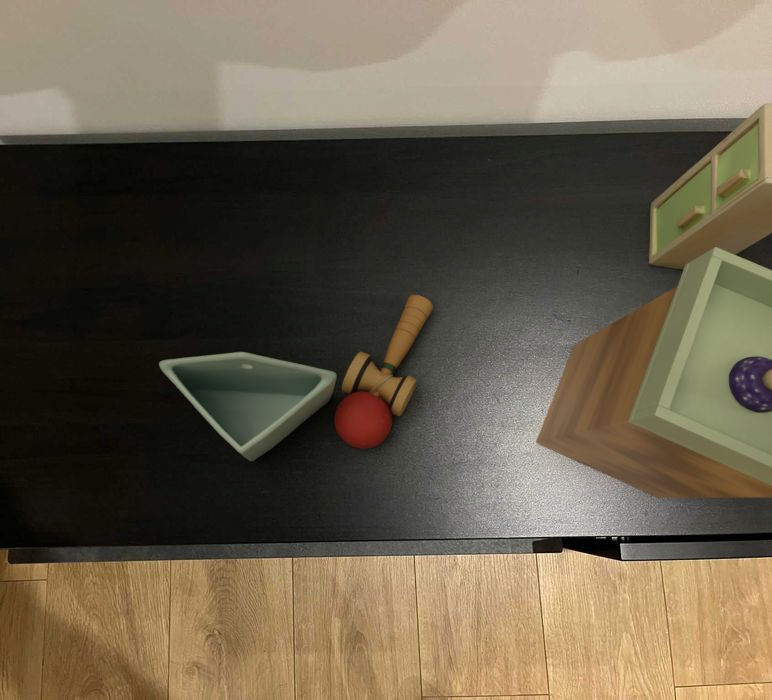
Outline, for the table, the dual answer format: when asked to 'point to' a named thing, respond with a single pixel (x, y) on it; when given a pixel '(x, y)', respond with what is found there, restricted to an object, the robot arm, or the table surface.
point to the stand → (612, 411)
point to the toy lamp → (752, 383)
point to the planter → (251, 395)
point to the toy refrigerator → (718, 198)
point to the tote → (711, 364)
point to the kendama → (380, 384)
